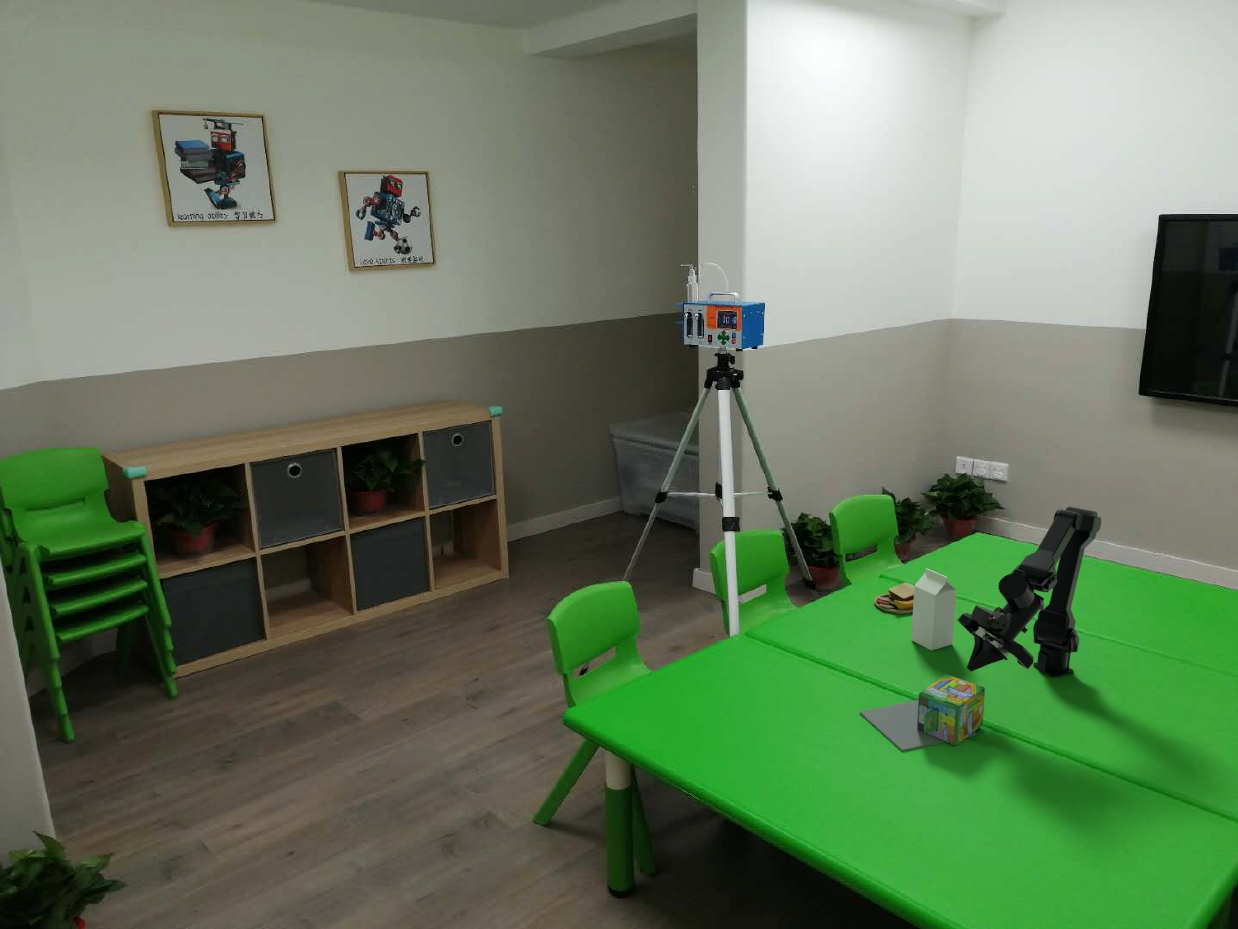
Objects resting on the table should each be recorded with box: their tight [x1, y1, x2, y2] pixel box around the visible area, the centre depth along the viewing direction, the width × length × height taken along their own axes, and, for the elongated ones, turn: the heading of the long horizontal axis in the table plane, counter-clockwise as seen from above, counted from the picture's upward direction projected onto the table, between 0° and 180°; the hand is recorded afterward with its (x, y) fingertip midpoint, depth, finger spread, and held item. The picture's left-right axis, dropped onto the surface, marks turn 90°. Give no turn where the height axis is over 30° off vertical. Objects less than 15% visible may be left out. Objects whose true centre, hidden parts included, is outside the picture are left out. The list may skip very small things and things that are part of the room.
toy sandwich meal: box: [873, 582, 916, 615], centre depth 260 cm, size 12×14×5 cm
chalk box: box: [917, 674, 986, 746], centre depth 196 cm, size 9×9×15 cm
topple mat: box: [859, 699, 978, 752], centre depth 201 cm, size 18×16×1 cm
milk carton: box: [910, 568, 957, 652], centre depth 235 cm, size 7×7×19 cm
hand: (969, 669), depth 201 cm, fingers closed
